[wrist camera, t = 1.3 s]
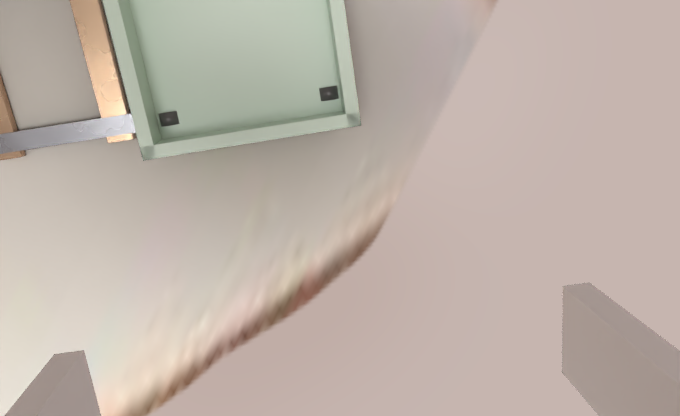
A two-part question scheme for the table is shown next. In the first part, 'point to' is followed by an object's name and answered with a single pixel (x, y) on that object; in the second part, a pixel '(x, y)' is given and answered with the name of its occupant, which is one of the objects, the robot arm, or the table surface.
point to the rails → (115, 119)
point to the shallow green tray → (232, 71)
